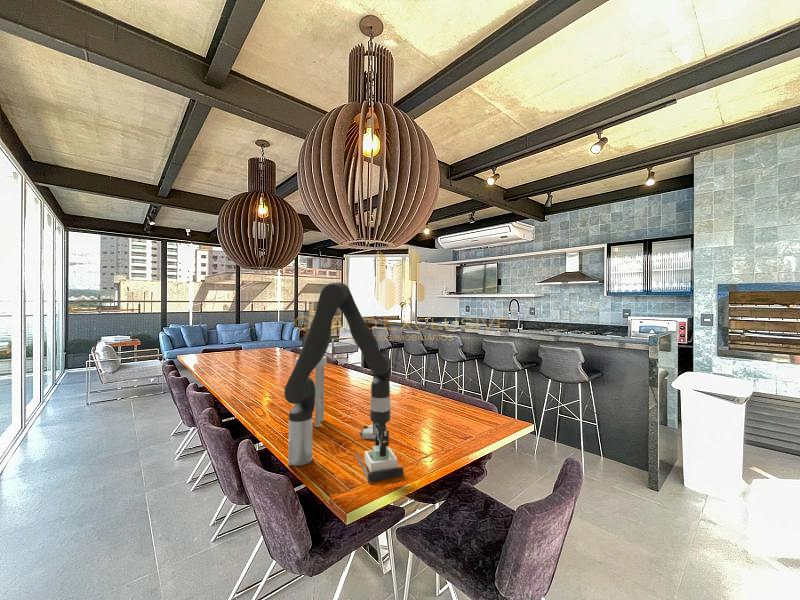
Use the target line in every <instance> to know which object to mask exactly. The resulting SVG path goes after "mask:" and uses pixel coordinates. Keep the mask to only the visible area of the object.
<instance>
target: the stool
mask: <svg viewBox="0 0 800 600" xmlns="http://www.w3.org/2000/svg"><path fill="white" fill-rule="evenodd" d="M298 358H299V356H297V357H296V358H294V362H295V364H294V366H295V365H296V363H297V360H298ZM327 359H328V358H327V356H326V355H324V357H323V358H322V360H321V361H320V362H319V363H318V365H317V366H316V367H315V368H314V369H315V370H314V374H315V375H314V376H315V378H314V385H315V407H314V428H315V427H320V428H321V422H324V421H325V414H324V413H325V366H326V365H327V363H328V362H327V361H328V360H327Z"/></svg>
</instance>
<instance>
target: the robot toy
mask: <svg viewBox="0 0 800 600" xmlns="http://www.w3.org/2000/svg"><path fill="white" fill-rule="evenodd" d="M358 435H360V437H361V438H362V439H365V440H375V438H374V435H373V424H369V425H368V426H367V425H364V426H362V430H361V431H360V432H359V433H358Z"/></svg>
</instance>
